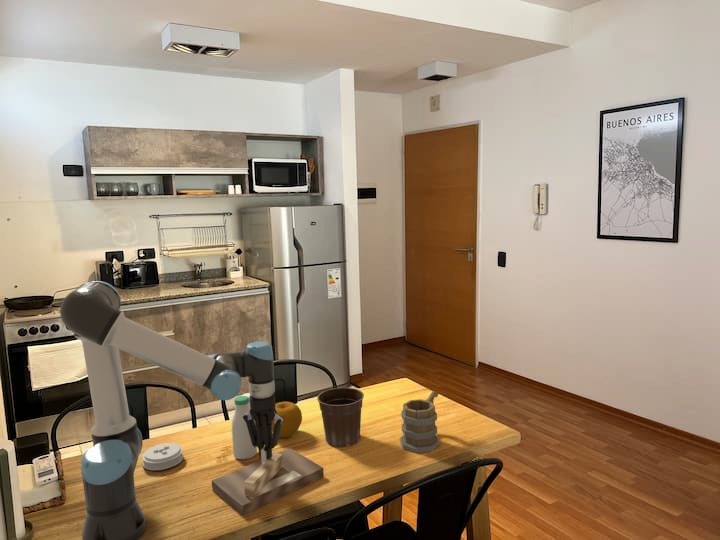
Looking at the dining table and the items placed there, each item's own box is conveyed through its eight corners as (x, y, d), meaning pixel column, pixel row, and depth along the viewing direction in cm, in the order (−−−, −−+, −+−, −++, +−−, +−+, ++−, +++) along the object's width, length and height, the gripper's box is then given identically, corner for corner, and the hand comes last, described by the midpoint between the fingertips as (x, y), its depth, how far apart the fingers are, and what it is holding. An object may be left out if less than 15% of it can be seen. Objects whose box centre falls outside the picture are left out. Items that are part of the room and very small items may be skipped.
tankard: (426, 456, 174) (425, 413, 171) (394, 446, 181) (392, 404, 179) (454, 433, 189) (454, 393, 187) (423, 424, 197) (423, 386, 195)
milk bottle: (251, 461, 175) (247, 403, 172) (229, 459, 176) (225, 402, 173) (260, 449, 182) (256, 394, 179) (239, 448, 184) (235, 393, 181)
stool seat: (242, 515, 145) (242, 505, 145) (212, 489, 158) (211, 480, 158) (323, 476, 163) (323, 467, 163) (290, 456, 177) (289, 447, 176)
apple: (269, 445, 185) (267, 414, 183) (265, 429, 198) (263, 400, 196) (305, 439, 189) (304, 408, 187) (299, 424, 201) (298, 395, 199)
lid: (186, 451, 183) (185, 438, 182) (180, 470, 171) (178, 456, 170) (147, 455, 181) (146, 442, 180) (138, 475, 169) (137, 460, 168)
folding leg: (254, 496, 148) (253, 483, 148) (244, 495, 149) (243, 481, 149) (283, 466, 164) (282, 454, 163) (274, 465, 165) (273, 453, 164)
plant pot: (313, 448, 182) (310, 403, 179) (327, 427, 197) (325, 386, 195) (359, 452, 178) (357, 406, 176) (369, 430, 193) (368, 388, 191)
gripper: (236, 396, 157) (240, 471, 160) (275, 400, 152) (279, 477, 156) (249, 387, 164) (253, 459, 167) (287, 391, 159) (290, 464, 163)
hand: (266, 467), depth 162 cm, fingers closed
